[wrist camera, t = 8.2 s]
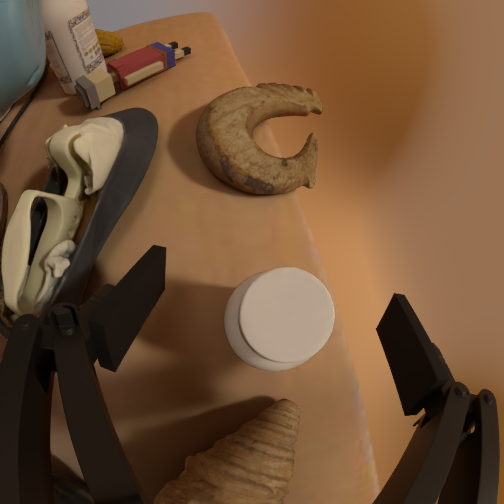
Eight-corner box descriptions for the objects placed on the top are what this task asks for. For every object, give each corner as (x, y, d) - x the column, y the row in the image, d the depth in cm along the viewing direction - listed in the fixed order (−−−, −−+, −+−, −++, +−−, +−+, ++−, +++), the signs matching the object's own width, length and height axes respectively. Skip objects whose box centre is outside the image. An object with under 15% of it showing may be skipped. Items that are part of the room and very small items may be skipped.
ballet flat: (185, 123, 24) (174, 56, 17) (85, 375, 17) (17, 383, 9) (118, 116, 25) (96, 59, 17) (18, 333, 17) (-46, 320, 9)
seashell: (264, 404, 21) (185, 369, 18) (344, 407, 15) (258, 369, 12) (217, 534, 13) (126, 521, 10) (286, 574, 7) (175, 586, 4)
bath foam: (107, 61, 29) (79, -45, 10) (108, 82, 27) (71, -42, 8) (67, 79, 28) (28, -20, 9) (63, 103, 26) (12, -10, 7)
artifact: (171, 148, 19) (244, 55, 24) (172, 170, 22) (239, 76, 27) (311, 210, 20) (343, 99, 25) (295, 224, 24) (330, 117, 28)
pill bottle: (230, 367, 18) (228, 388, 10) (222, 295, 20) (213, 259, 11) (304, 356, 19) (356, 364, 10) (294, 286, 20) (335, 246, 12)
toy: (170, 54, 31) (77, 102, 26) (169, 31, 27) (68, 78, 22) (195, 67, 30) (94, 120, 25) (196, 41, 26) (84, 92, 21)
